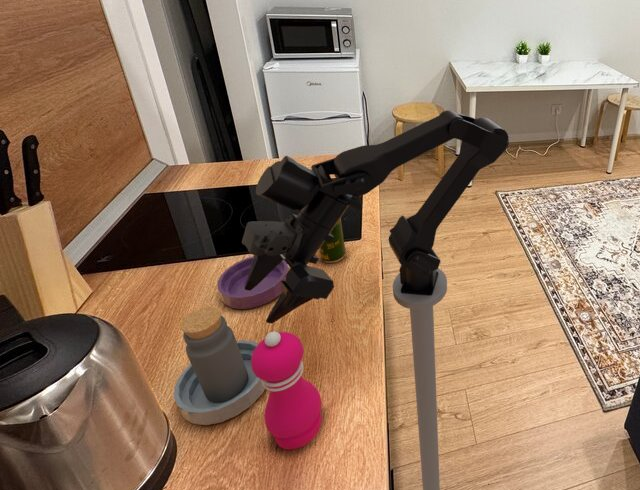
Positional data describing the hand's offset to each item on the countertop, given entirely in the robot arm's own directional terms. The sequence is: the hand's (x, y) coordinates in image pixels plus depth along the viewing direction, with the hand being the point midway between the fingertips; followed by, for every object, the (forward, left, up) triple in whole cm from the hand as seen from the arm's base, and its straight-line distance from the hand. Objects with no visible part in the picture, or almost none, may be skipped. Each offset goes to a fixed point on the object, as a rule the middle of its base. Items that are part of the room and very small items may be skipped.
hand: (257, 305), depth 65 cm
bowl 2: (+4, +5, -13) cm, 15 cm away
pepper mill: (-10, +10, -13) cm, 19 cm away
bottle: (+4, +5, -13) cm, 14 cm away
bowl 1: (+12, -16, -13) cm, 24 cm away
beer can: (+1, -27, -13) cm, 30 cm away
